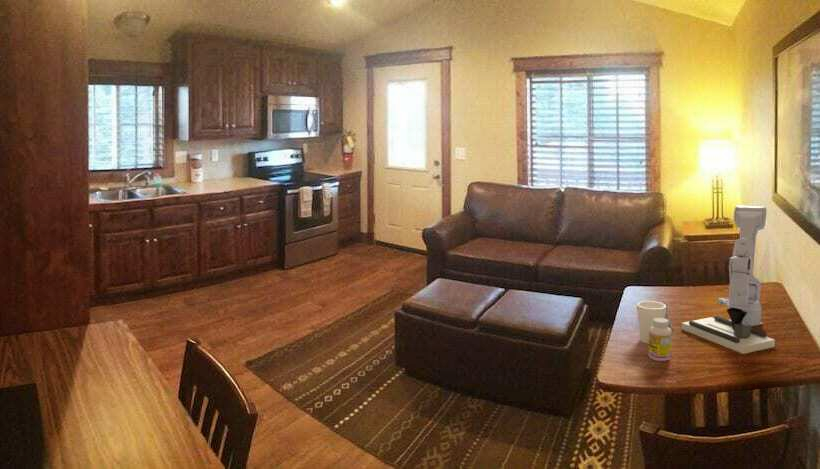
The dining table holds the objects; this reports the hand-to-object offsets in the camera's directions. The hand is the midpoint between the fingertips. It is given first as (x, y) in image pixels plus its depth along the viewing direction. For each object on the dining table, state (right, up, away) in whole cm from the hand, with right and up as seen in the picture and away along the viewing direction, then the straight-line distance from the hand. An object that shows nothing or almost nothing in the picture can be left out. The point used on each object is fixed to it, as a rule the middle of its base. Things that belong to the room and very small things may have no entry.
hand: (736, 329), depth 203 cm
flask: (-19, -3, +15) cm, 24 cm away
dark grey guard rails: (-1, -1, +4) cm, 4 cm away
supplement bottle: (-31, -8, -10) cm, 33 cm away
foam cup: (-28, -5, +4) cm, 28 cm away
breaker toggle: (+1, -2, -2) cm, 3 cm away
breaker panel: (-1, -4, +4) cm, 6 cm away
